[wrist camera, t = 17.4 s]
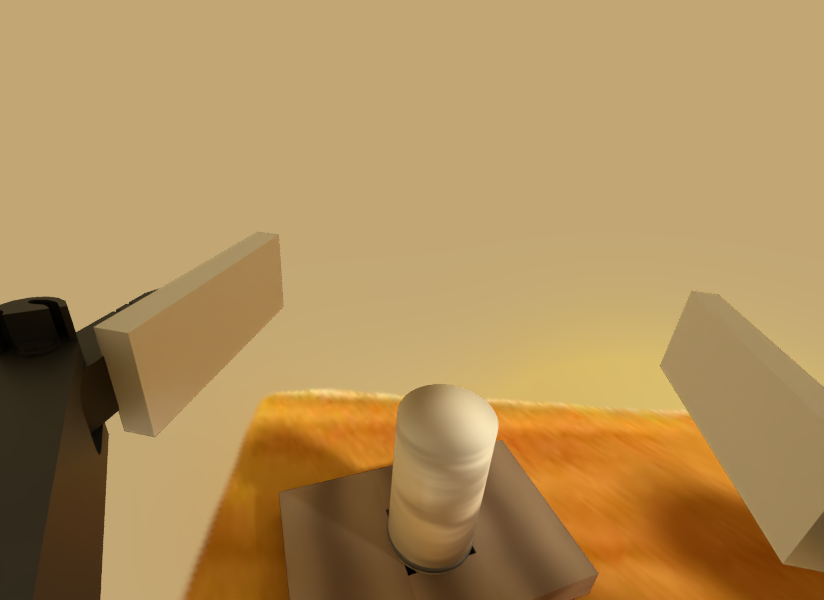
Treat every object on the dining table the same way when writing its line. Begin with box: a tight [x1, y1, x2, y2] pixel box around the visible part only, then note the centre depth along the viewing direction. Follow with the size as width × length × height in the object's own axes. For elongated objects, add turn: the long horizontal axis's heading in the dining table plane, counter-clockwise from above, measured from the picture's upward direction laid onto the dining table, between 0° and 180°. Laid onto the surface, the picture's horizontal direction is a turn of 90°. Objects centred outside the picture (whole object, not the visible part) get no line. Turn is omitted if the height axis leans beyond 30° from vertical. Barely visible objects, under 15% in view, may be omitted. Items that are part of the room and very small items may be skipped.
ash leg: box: [387, 384, 498, 575], centre depth 32 cm, size 7×7×14 cm
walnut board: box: [279, 440, 598, 600], centre depth 34 cm, size 22×14×2 cm, turn 110°
